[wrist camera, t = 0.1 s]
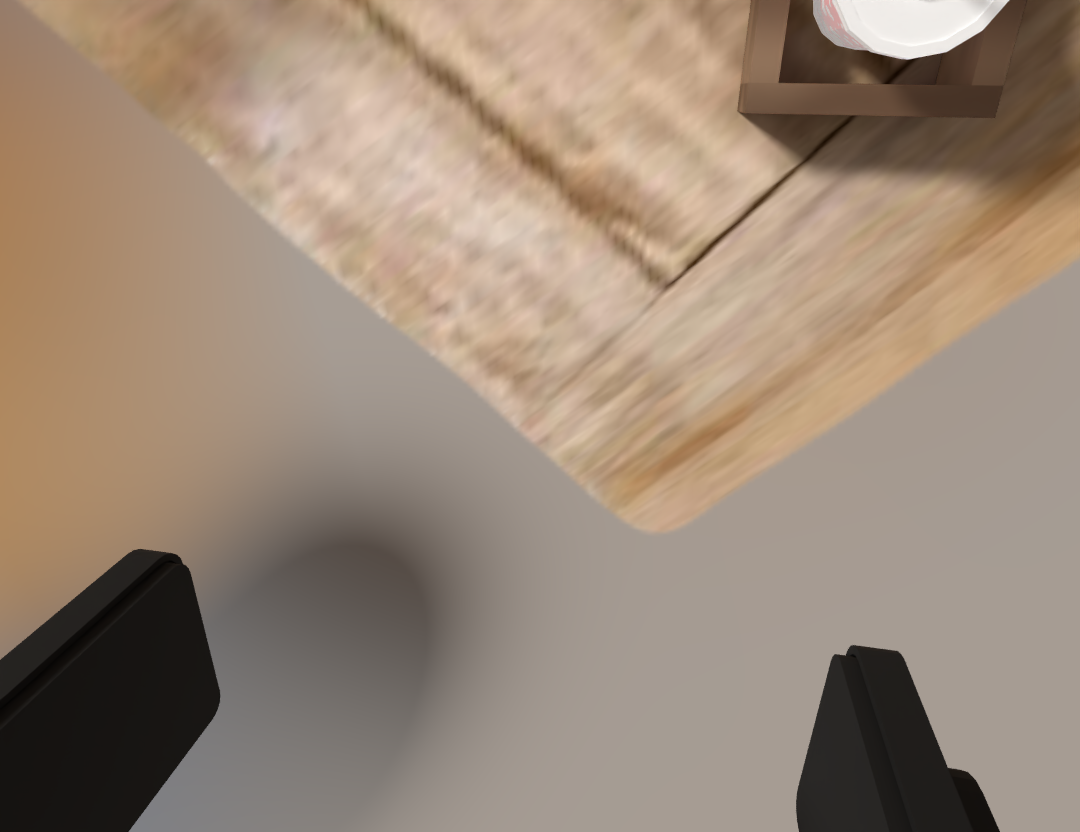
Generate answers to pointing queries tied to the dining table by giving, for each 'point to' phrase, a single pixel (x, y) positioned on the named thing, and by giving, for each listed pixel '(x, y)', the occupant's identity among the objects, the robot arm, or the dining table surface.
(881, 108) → the square wooden frame
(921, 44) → the beverage cup
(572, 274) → the dining table surface
